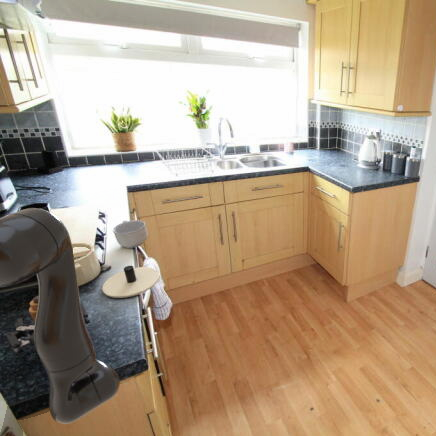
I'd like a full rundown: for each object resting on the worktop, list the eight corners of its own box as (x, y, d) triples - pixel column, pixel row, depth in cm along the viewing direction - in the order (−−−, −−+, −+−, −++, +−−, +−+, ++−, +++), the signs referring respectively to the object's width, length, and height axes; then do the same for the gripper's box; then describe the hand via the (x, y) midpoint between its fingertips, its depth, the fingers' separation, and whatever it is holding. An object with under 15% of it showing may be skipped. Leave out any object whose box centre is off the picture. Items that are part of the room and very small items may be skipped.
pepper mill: (43, 343, 78) (26, 305, 73) (39, 334, 81) (22, 297, 76) (65, 333, 81) (50, 296, 76) (61, 325, 84) (46, 288, 79)
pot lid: (114, 306, 91) (109, 289, 88) (95, 284, 100) (90, 268, 98) (169, 282, 102) (165, 267, 100) (147, 264, 111) (144, 249, 109)
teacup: (150, 247, 122) (146, 228, 119) (117, 253, 117) (112, 234, 114) (147, 232, 133) (143, 215, 130) (117, 238, 128) (112, 220, 124)
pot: (54, 300, 93) (44, 275, 89) (37, 273, 104) (28, 251, 101) (110, 278, 103) (103, 256, 100) (89, 256, 115) (83, 235, 111)
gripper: (94, 316, 73) (73, 287, 82) (11, 353, 63) (-3, 315, 72) (103, 341, 76) (81, 310, 85) (24, 380, 66) (10, 340, 75)
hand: (43, 312), depth 79 cm, fingers open, 8 cm apart
